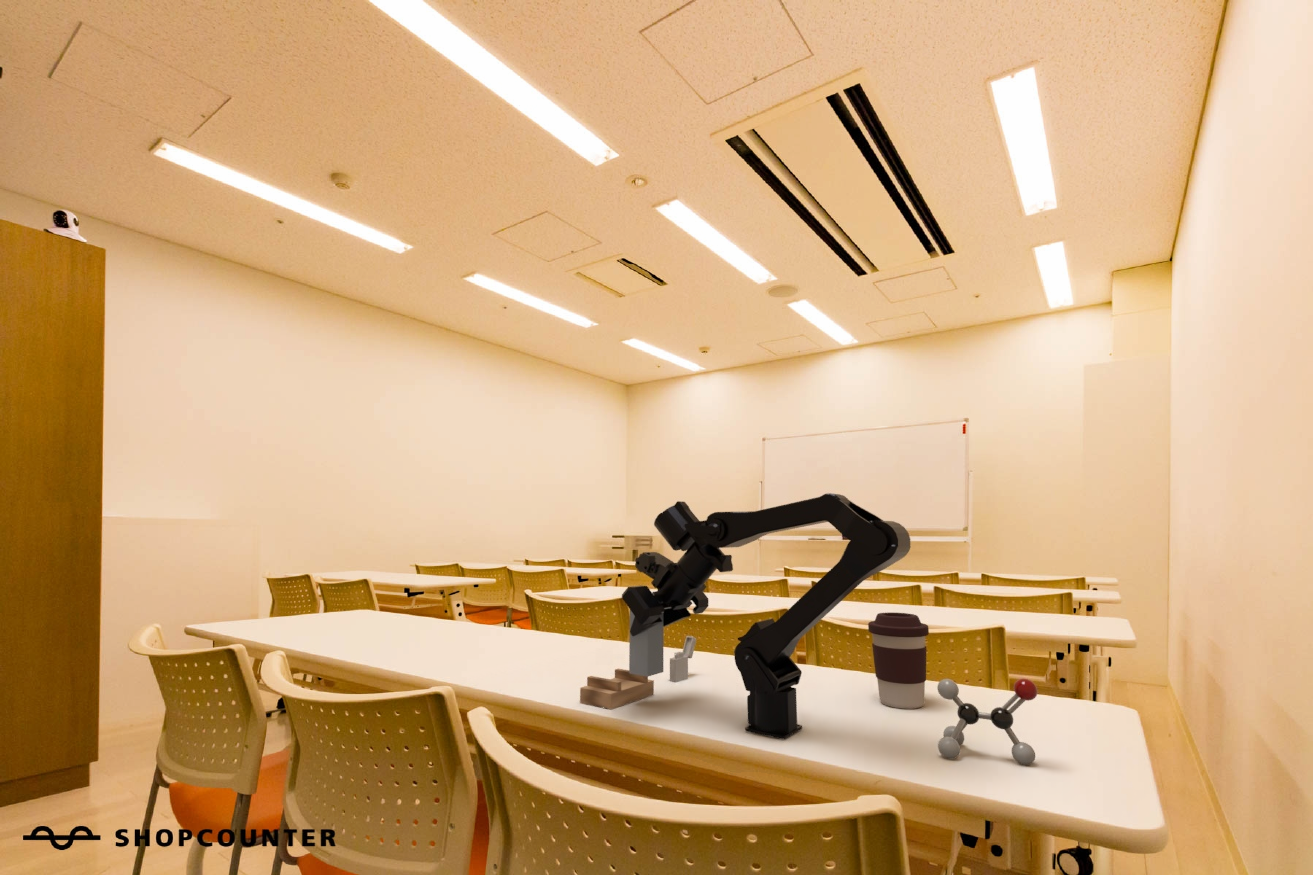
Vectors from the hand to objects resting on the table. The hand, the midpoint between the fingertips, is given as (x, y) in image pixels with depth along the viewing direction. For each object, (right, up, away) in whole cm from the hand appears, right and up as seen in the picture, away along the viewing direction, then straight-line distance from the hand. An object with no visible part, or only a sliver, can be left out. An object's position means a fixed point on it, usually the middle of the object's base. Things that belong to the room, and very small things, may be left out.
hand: (640, 632), depth 112 cm
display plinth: (-4, -12, +1) cm, 13 cm away
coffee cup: (+45, -12, -2) cm, 47 cm away
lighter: (+8, -15, +17) cm, 24 cm away
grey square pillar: (+1, -6, -2) cm, 7 cm away
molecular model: (+47, -8, -28) cm, 55 cm away
